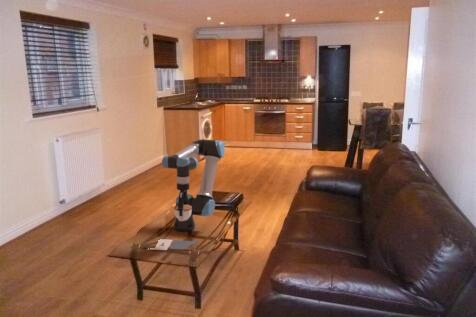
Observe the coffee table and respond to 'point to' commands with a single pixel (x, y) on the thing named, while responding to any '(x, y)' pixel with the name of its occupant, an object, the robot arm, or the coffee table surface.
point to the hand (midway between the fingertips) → (183, 217)
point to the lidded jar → (186, 209)
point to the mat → (181, 244)
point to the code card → (162, 244)
